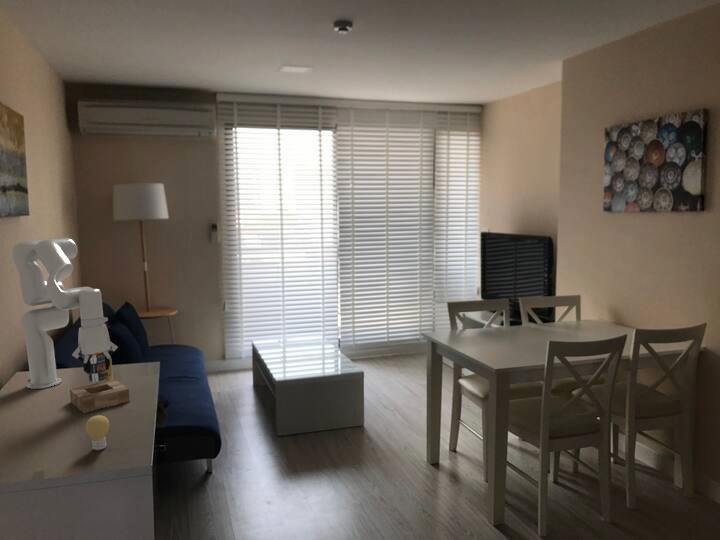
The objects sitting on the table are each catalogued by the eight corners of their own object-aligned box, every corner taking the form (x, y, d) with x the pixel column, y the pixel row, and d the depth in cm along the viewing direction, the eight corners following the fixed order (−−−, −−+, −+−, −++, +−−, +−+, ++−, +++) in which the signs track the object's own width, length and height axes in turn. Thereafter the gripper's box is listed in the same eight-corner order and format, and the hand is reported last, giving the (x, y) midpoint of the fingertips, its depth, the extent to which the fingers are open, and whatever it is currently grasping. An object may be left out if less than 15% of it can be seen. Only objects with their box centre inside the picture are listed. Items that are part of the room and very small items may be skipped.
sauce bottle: (108, 392, 222) (104, 342, 219) (93, 392, 222) (88, 342, 220) (117, 386, 228) (112, 338, 226) (101, 387, 228) (97, 338, 226)
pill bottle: (100, 382, 206) (97, 352, 205) (85, 382, 207) (82, 352, 206) (110, 377, 212) (107, 348, 210) (96, 377, 213) (93, 347, 212)
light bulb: (92, 444, 172) (89, 413, 171) (114, 443, 172) (111, 411, 171) (84, 454, 165) (81, 421, 164) (107, 452, 166) (103, 419, 165)
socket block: (71, 402, 211) (69, 389, 211) (115, 391, 222) (114, 379, 221) (83, 413, 199) (81, 399, 199) (129, 401, 210) (128, 388, 209)
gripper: (113, 317, 215) (118, 364, 218) (63, 325, 204) (69, 374, 206) (120, 320, 210) (124, 367, 212) (69, 328, 199) (74, 378, 201)
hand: (97, 370), depth 209 cm, fingers closed on pill bottle, 6 cm apart
